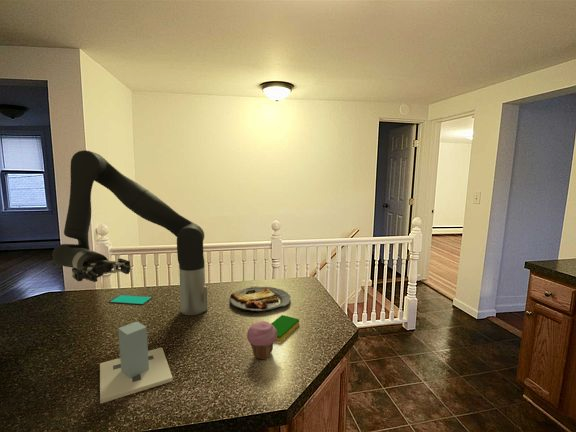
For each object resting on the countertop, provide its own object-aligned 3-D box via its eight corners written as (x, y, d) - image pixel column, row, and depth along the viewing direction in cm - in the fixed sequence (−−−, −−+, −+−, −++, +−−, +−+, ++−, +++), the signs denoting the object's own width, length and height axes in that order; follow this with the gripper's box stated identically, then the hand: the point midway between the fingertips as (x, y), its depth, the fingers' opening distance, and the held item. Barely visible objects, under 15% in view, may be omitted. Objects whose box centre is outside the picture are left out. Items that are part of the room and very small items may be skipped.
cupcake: (272, 366, 87) (272, 332, 86) (242, 361, 90) (242, 328, 88) (280, 349, 96) (280, 318, 95) (253, 345, 98) (253, 314, 97)
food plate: (241, 319, 115) (241, 310, 114) (221, 297, 135) (221, 289, 134) (300, 307, 127) (300, 298, 126) (274, 289, 147) (274, 281, 146)
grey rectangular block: (139, 362, 87) (137, 321, 85) (149, 369, 84) (146, 327, 82) (121, 370, 83) (118, 328, 82) (129, 378, 80) (127, 334, 78)
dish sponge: (261, 338, 103) (261, 331, 103) (281, 320, 115) (282, 314, 115) (280, 343, 100) (280, 336, 99) (299, 325, 112) (299, 319, 111)
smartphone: (120, 294, 135) (152, 296, 133) (120, 296, 135) (153, 298, 133) (108, 301, 128) (142, 304, 126) (108, 303, 128) (143, 306, 126)
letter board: (162, 350, 95) (162, 347, 94) (172, 381, 81) (172, 377, 81) (100, 366, 87) (100, 363, 86) (100, 403, 73) (100, 399, 73)
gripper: (62, 256, 93) (82, 267, 83) (113, 247, 104) (137, 256, 93) (64, 281, 94) (85, 294, 84) (115, 269, 105) (138, 280, 95)
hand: (112, 274), depth 89 cm, fingers open, 8 cm apart
